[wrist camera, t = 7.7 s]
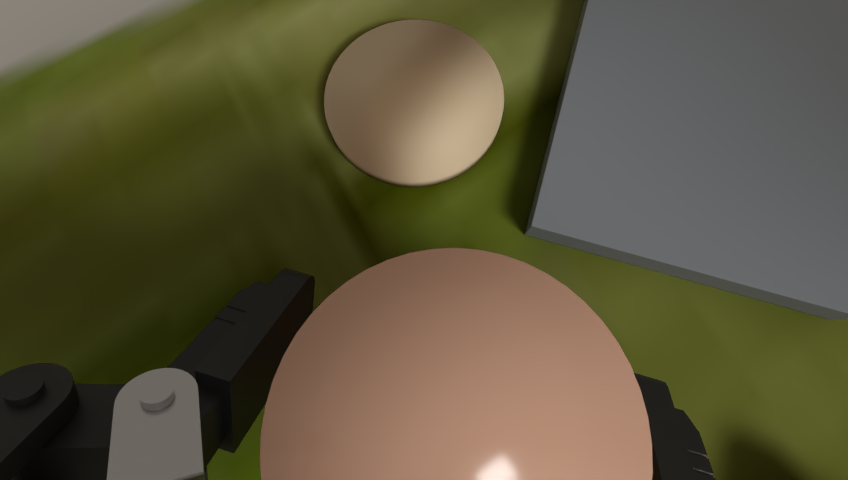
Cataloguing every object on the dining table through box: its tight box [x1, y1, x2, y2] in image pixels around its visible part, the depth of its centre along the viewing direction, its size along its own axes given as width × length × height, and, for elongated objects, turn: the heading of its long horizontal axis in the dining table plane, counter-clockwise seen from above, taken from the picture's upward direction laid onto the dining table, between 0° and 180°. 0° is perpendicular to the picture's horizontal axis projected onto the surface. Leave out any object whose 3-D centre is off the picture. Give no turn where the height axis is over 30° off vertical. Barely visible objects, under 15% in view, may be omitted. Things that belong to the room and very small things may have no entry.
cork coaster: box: [324, 19, 504, 187], centre depth 18 cm, size 7×7×1 cm
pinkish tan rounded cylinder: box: [260, 248, 653, 480], centre depth 11 cm, size 5×5×10 cm
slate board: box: [525, 0, 848, 320], centre depth 17 cm, size 11×14×1 cm
